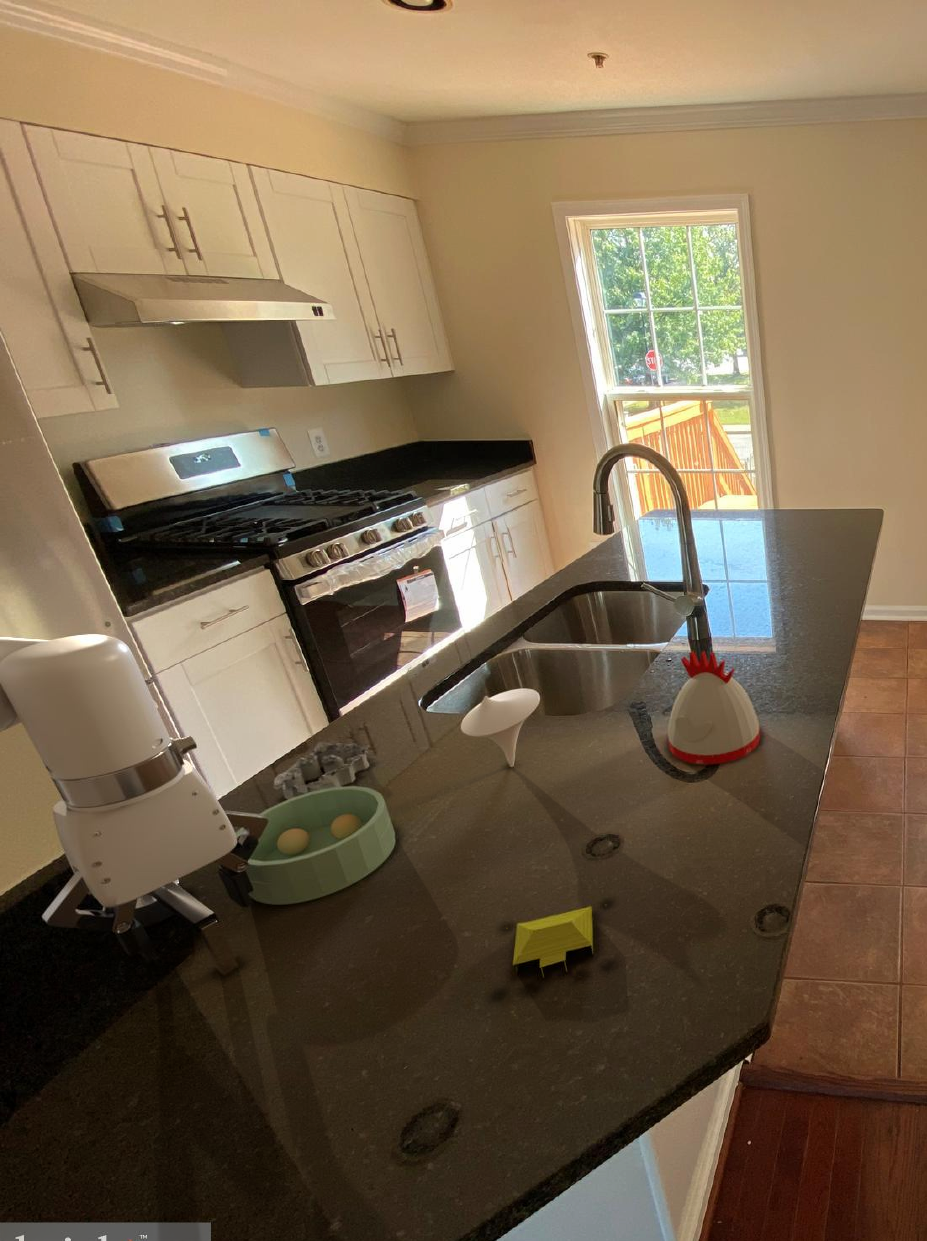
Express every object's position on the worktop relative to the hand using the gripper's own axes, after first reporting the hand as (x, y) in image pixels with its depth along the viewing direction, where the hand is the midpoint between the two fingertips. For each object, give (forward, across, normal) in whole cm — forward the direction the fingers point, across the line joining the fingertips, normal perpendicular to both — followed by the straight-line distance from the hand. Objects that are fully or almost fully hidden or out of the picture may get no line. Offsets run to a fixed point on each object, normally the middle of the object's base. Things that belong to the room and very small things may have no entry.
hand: (195, 925), depth 68 cm
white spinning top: (+4, -37, -3) cm, 37 cm away
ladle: (+4, 0, -4) cm, 5 cm away
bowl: (+4, -13, -5) cm, 14 cm away
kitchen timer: (+4, -57, +18) cm, 60 cm away
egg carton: (+4, -22, -22) cm, 31 cm away
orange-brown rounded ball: (+2, -12, -8) cm, 15 cm away
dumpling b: (+2, -16, -6) cm, 18 cm away
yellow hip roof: (+4, -17, +30) cm, 35 cm away
